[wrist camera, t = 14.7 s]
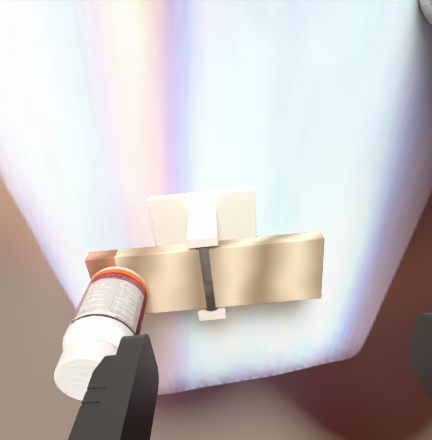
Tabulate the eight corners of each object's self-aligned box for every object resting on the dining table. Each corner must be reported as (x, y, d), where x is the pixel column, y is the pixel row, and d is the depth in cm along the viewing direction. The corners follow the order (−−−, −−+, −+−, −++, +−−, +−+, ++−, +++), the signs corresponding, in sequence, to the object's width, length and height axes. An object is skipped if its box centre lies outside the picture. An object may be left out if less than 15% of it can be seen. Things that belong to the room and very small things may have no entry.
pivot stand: (253, 186, 40) (262, 216, 33) (258, 284, 46) (267, 326, 40) (148, 196, 40) (137, 229, 34) (167, 292, 47) (161, 335, 40)
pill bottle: (127, 318, 39) (99, 416, 29) (78, 290, 37) (31, 385, 27) (161, 285, 37) (143, 378, 27) (111, 253, 35) (73, 341, 25)
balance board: (319, 228, 36) (324, 236, 35) (316, 290, 40) (321, 301, 38) (89, 249, 37) (83, 259, 35) (107, 309, 41) (103, 320, 39)
